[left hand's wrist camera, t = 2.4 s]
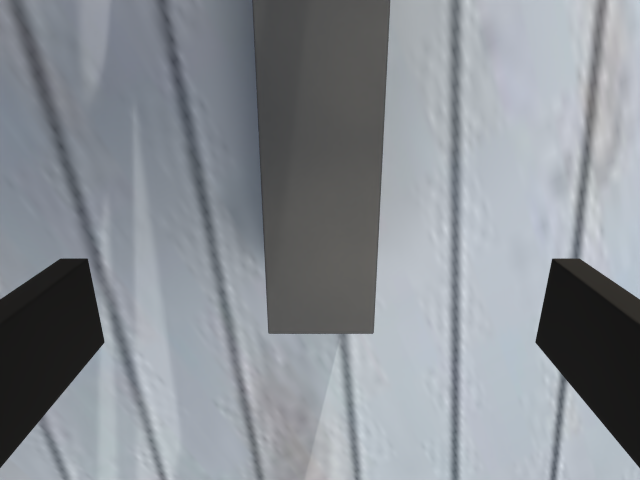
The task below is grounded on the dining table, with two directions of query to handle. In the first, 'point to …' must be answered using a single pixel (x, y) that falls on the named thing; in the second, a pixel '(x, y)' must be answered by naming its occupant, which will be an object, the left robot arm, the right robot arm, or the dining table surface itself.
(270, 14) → the post
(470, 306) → the dining table surface
